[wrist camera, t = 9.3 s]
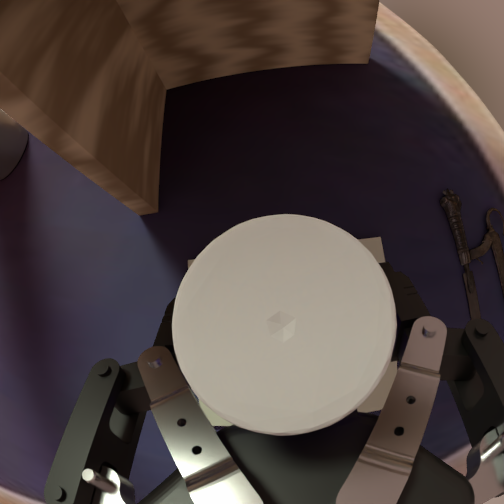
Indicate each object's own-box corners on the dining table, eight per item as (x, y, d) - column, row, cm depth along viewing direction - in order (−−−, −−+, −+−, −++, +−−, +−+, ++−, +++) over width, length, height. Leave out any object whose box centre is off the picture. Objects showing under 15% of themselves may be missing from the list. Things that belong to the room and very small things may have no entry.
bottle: (260, 376, 21) (163, 502, 4) (234, 306, 22) (80, 250, 6) (352, 340, 21) (503, 375, 4) (324, 271, 22) (396, 125, 5)
